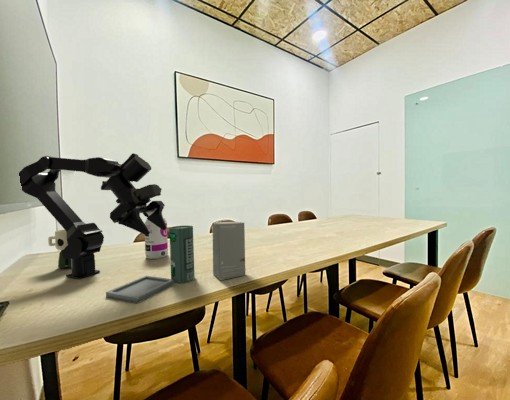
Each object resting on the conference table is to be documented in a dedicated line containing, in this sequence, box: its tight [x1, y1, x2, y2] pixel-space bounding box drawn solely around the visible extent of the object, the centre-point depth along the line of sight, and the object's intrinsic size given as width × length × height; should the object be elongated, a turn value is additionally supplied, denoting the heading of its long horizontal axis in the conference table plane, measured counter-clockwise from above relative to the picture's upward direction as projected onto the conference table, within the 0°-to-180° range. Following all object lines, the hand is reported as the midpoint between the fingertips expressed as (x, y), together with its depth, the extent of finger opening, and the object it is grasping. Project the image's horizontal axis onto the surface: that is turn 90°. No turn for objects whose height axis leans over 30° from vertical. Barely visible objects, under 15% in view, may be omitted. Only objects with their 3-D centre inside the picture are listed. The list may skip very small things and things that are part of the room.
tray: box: [105, 275, 175, 304], centre depth 59 cm, size 10×12×1 cm
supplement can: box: [144, 217, 169, 260], centre depth 92 cm, size 8×8×15 cm
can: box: [168, 225, 196, 284], centre depth 66 cm, size 6×6×15 cm
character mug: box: [48, 229, 71, 269], centre depth 81 cm, size 11×7×13 cm, turn 116°
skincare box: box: [211, 221, 246, 281], centre depth 69 cm, size 8×7×16 cm
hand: (157, 231), depth 69 cm, fingers open, 9 cm apart
